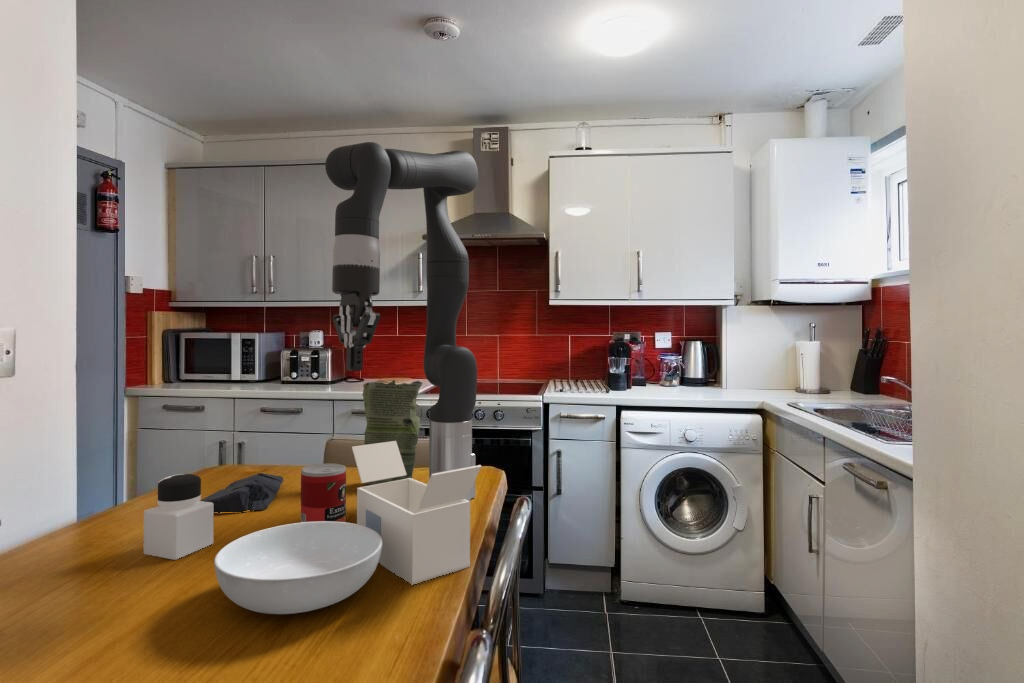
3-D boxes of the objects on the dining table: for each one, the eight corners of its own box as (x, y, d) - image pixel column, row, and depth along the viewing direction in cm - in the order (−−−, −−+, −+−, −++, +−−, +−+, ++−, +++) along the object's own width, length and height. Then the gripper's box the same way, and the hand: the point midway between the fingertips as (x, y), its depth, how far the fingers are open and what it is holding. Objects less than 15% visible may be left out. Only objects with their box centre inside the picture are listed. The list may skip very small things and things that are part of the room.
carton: (409, 534, 96) (410, 477, 96) (469, 566, 82) (470, 501, 82) (356, 548, 89) (356, 487, 89) (411, 586, 75) (412, 515, 75)
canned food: (332, 537, 94) (332, 474, 94) (291, 533, 96) (291, 471, 96) (353, 522, 101) (354, 464, 101) (315, 519, 103) (315, 462, 103)
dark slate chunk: (294, 485, 129) (295, 465, 129) (263, 515, 107) (264, 491, 107) (227, 487, 127) (227, 467, 127) (181, 517, 105) (182, 493, 105)
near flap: (417, 508, 76) (418, 509, 76) (431, 473, 73) (432, 475, 73) (465, 497, 81) (466, 498, 81) (480, 464, 79) (481, 466, 78)
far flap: (406, 474, 95) (406, 475, 95) (396, 440, 98) (395, 441, 98) (362, 482, 89) (361, 483, 90) (352, 446, 92) (351, 447, 93)
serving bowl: (386, 624, 65) (386, 568, 65) (193, 651, 60) (193, 589, 60) (379, 557, 85) (379, 514, 85) (233, 572, 80) (233, 526, 80)
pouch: (356, 484, 128) (357, 379, 128) (397, 475, 137) (397, 377, 137) (385, 493, 120) (385, 382, 120) (426, 483, 129) (426, 379, 129)
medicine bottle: (214, 544, 90) (214, 473, 90) (175, 561, 83) (175, 484, 83) (182, 539, 92) (183, 469, 92) (142, 554, 86) (142, 479, 86)
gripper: (396, 264, 86) (394, 372, 86) (359, 271, 96) (357, 368, 96) (353, 258, 81) (350, 373, 81) (318, 267, 91) (316, 369, 91)
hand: (354, 370), depth 89 cm, fingers closed
